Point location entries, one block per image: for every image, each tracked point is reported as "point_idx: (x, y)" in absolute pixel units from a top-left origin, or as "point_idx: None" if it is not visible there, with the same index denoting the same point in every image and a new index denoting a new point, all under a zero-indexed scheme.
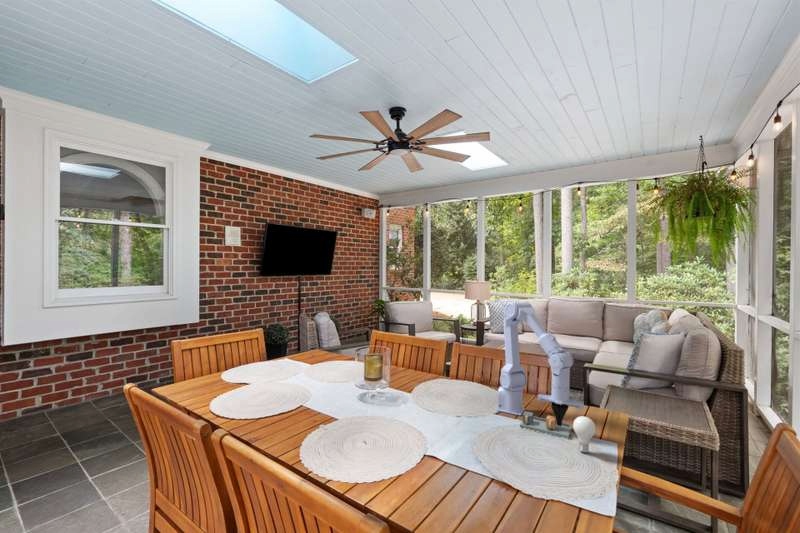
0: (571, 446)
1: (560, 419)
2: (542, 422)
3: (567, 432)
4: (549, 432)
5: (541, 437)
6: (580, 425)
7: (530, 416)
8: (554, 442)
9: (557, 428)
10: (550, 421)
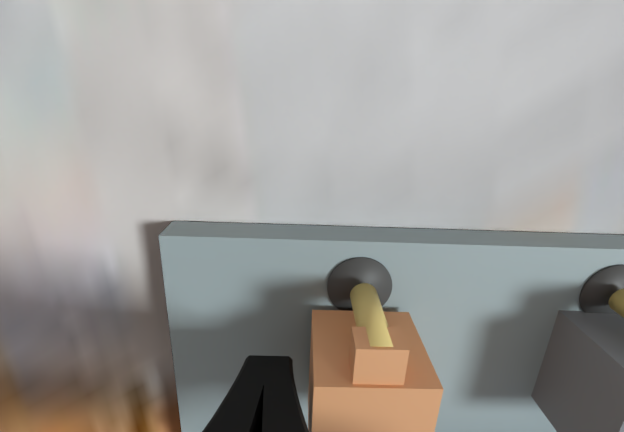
0: (107, 49)
1: (236, 420)
2: (440, 410)
3: (185, 309)
4: (362, 236)
5: (436, 112)
6: None
7: None
8: (292, 52)
9: (292, 352)
10: (376, 340)
